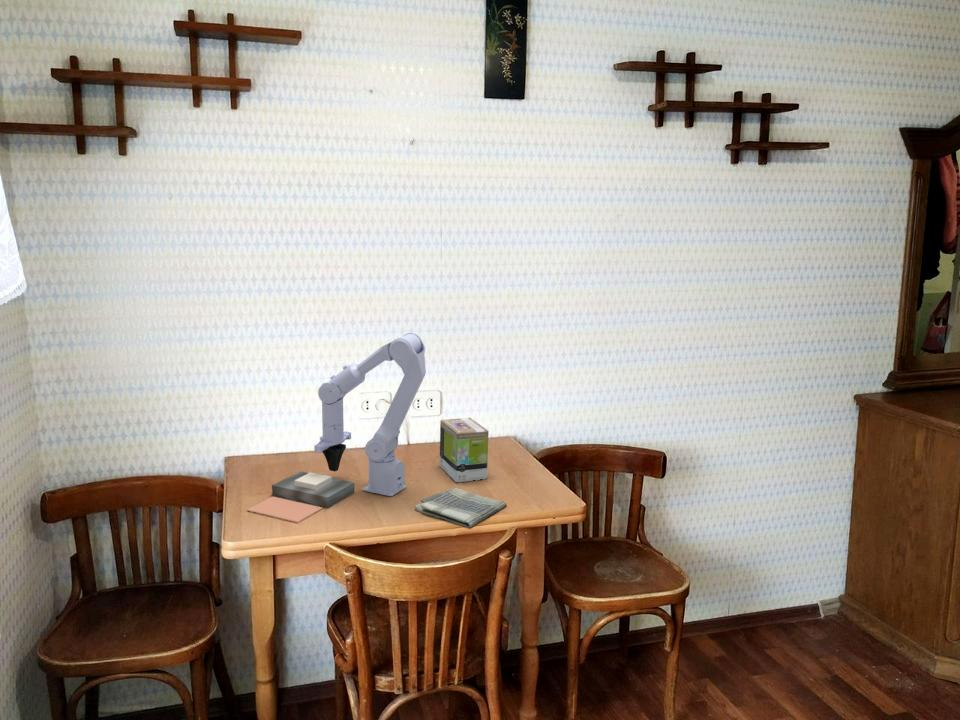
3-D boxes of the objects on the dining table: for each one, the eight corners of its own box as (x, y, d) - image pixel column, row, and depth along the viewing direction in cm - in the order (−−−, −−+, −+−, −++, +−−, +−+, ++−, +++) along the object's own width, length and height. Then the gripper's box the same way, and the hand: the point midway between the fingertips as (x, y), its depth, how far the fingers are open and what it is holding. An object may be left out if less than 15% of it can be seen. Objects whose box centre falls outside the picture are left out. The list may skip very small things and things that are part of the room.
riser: (354, 492, 208) (354, 482, 208) (328, 508, 198) (327, 497, 197) (300, 481, 216) (300, 471, 215) (272, 495, 205) (271, 485, 204)
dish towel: (508, 508, 202) (509, 496, 201) (469, 531, 188) (470, 518, 187) (451, 491, 212) (452, 480, 212) (410, 512, 198) (410, 500, 197)
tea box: (488, 479, 221) (489, 430, 218) (455, 483, 217) (456, 433, 214) (469, 462, 234) (470, 415, 231) (438, 466, 231) (439, 418, 228)
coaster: (332, 481, 208) (331, 476, 207) (316, 490, 202) (316, 484, 201) (310, 477, 211) (310, 472, 210) (294, 485, 204) (294, 480, 204)
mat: (322, 509, 197) (322, 507, 197) (298, 523, 188) (298, 521, 188) (272, 497, 204) (272, 496, 204) (246, 511, 195) (246, 509, 195)
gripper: (336, 414, 219) (337, 460, 222) (304, 428, 207) (305, 475, 209) (357, 418, 217) (357, 464, 219) (326, 431, 204) (327, 480, 206)
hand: (333, 470), depth 214 cm, fingers closed
